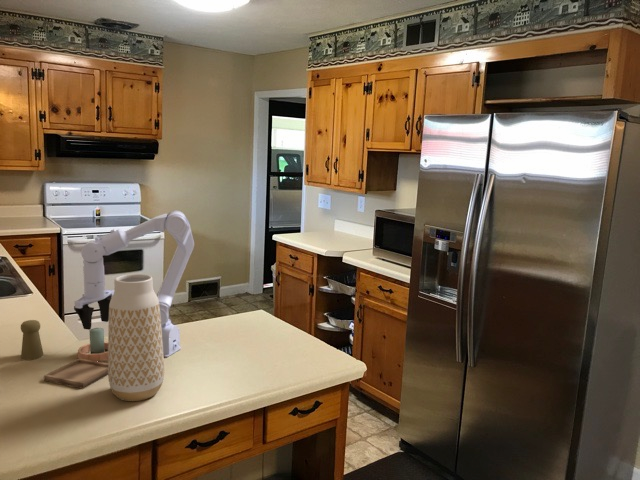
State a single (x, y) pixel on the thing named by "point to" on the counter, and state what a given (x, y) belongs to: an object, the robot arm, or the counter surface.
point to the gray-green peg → (97, 340)
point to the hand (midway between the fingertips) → (96, 325)
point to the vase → (135, 339)
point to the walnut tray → (78, 373)
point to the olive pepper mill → (31, 340)
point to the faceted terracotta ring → (93, 357)
